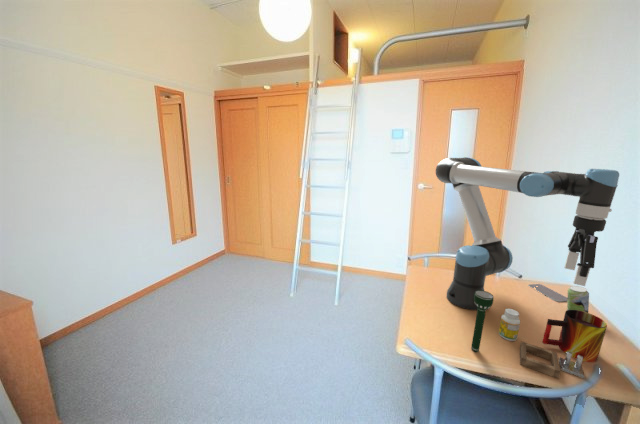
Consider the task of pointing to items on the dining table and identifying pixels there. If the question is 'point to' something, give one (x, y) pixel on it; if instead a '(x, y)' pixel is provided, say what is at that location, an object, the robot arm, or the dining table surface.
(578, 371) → the peg rest
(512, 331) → the supplement bottle
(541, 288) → the smartphone
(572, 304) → the beverage can
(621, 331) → the dining table surface
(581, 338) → the mug
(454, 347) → the dining table surface
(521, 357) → the collar block
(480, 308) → the flashlight
